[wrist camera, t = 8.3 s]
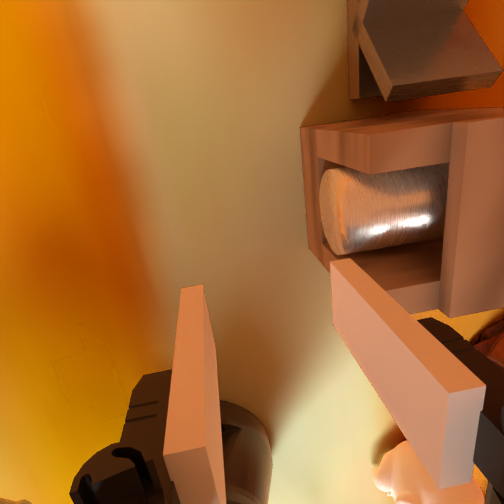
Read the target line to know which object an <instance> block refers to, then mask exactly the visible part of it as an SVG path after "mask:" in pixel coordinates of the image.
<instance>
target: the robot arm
mask: <svg viewBox="0 0 504 504" xmlns="http://www.w3.org/2000/svg"><path fill="white" fill-rule="evenodd" d="M330 273H331V293H332V312H333V326H334V327H335V329H336V330H337V332H338V333H339V335H340V336H341V338H342V340H343V341H344V343H345V344H346V346H347V347H348V349H349V350H350V352H351V354H352V355H353V357H354V358H355V360H356V361H357V363H358V364H359V366H360V368H361V369H362V371H363V372H364V374H365V375H366V377H367V378H368V380H369V382H370V383H371V385H372V386H373V388H374V389H375V391H376V392H377V394H378V396H379V397H380V399H381V400H382V402H383V403H384V405H385V406H386V408H387V410H388V411H389V413H390V414H391V416H392V417H393V419H394V420H395V422H396V424H397V425H398V427H399V428H400V430H401V431H402V433H403V434H404V436H405V438H406V439H407V441H408V442H409V444H410V445H411V447H412V449H413V450H414V452H415V453H416V455H417V456H418V458H419V459H420V461H421V463H422V464H423V466H424V467H425V469H426V470H427V472H428V473H429V475H430V477H431V478H432V480H433V481H434V483H435V484H436V486H437V487H438V489H439V490H440V489H444V488H448V487H452V486H457V485H461V484H465V483H469V482H471V481H472V475H473V468H474V463H475V464H476V466H477V467H478V468H479V469H480V471H481V472H482V473H483V474H484V476H485V477H486V478H487V479H488V485H487V491H486V496H485V502H484V504H504V371H503V370H502V369H501V368H499V367H498V366H497V365H496V364H495V363H493V362H492V361H491V360H490V359H489V358H487V357H486V356H485V355H484V354H483V353H481V352H480V351H479V350H476V349H475V347H474V346H473V345H472V344H471V343H469V342H468V341H467V340H464V339H463V337H462V336H461V335H460V334H459V333H457V332H456V331H455V330H454V329H453V328H451V327H450V326H449V325H447V324H444V323H442V322H440V321H438V320H436V319H434V318H431V317H430V318H425V319H420V320H416V319H415V318H414V317H412V316H411V315H410V314H409V313H408V312H407V311H406V310H405V309H404V308H403V307H402V306H401V305H400V304H399V303H398V302H396V301H395V300H394V299H393V298H392V297H391V296H390V295H389V294H388V293H387V292H386V291H385V290H384V289H383V288H381V287H380V286H379V285H378V284H377V283H376V282H375V281H374V280H373V279H372V278H371V277H370V276H369V275H368V274H367V273H365V272H364V271H363V270H362V269H361V268H360V267H359V266H358V265H357V264H356V263H355V262H354V261H353V260H352V259H350V258H348V259H342V260H336V261H331V262H330ZM272 465H273V464H272V453H271V449H270V444H269V439H268V435H267V433H266V430H265V428H264V427H263V425H262V424H261V422H260V421H259V420H258V419H257V418H256V417H255V416H254V415H252V414H251V413H250V412H248V411H247V410H245V409H243V408H241V407H239V406H236V405H233V404H230V403H226V402H222V401H219V389H218V374H217V360H216V347H215V342H214V337H213V332H212V327H211V322H210V317H209V313H208V308H207V303H206V298H205V293H204V288H203V284H202V285H196V286H191V287H185V288H181V295H180V304H179V313H178V322H177V331H176V341H175V350H174V359H173V368H172V370H167V371H162V372H157V373H152V374H146V375H143V377H142V378H141V379H140V381H139V382H138V384H137V385H136V386H135V388H134V389H133V391H132V395H131V399H130V403H129V410H128V411H127V415H126V419H125V424H124V427H123V431H122V435H121V439H120V442H118V443H114V444H111V445H109V446H107V447H106V448H104V449H102V450H100V451H98V452H97V453H96V454H94V455H93V456H92V457H91V458H90V459H89V460H88V461H87V462H86V463H84V465H83V466H82V467H81V469H80V470H79V472H78V473H77V475H76V476H75V478H74V480H73V483H72V486H71V489H70V493H69V494H70V497H71V499H72V501H73V503H74V504H268V499H269V491H270V483H271V475H272ZM0 504H32V503H30V502H29V501H27V500H19V501H17V502H15V501H11V500H7V499H3V498H0Z"/></svg>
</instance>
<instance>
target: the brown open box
mask: <svg viewBox="0 0 504 504" xmlns="http://www.w3.org/2000/svg"><path fill="white" fill-rule="evenodd" d="M300 136H301V149H302V163H303V176H304V190H305V204H306V217H307V231H308V244H309V249H310V250H311V251H312V252H313V254H314V255H315V256H316V257H317V258H318V260H319V261H320V262H321V263H322V264H323V266H324V267H325V268H326V269H327V270H328V272H329V273H330V262H331V261H336V260H342V259H348V258H350V259H352V260H353V261H354V262H355V263H356V264H357V265H358V266H359V267H360V268H361V269H362V270H363V271H364V272H365V273H367V274H368V275H369V276H370V277H371V278H372V279H373V280H374V281H375V282H376V283H377V284H378V285H379V286H380V287H381V288H383V289H384V290H385V291H386V292H387V293H388V294H389V295H390V296H391V297H392V298H393V299H394V300H395V301H396V302H398V303H399V304H400V305H401V306H402V307H403V308H404V309H405V310H406V311H407V312H408V313H409V314H414V313H419V312H424V311H430V310H435V309H439V310H440V311H441V312H442V313H444V314H445V315H446V316H447V317H449V318H453V317H458V316H463V315H468V314H473V313H478V312H484V311H489V310H494V309H499V308H504V107H491V108H462V109H433V110H418V111H411V112H405V113H398V114H391V115H384V116H377V117H370V118H363V119H356V120H349V121H343V122H336V123H329V124H322V125H315V126H308V127H301V128H300ZM447 162H450V166H449V178H448V190H447V203H446V215H445V228H444V238H440V239H434V240H428V241H422V242H416V243H410V244H404V245H398V246H392V247H386V248H379V249H373V250H367V251H361V252H355V253H349V254H343V255H337V254H336V253H334V251H333V250H332V249H331V247H330V246H329V244H328V241H327V239H326V236H325V233H324V230H323V226H322V221H321V214H320V204H319V193H320V184H321V179H322V176H323V174H324V173H325V171H326V170H329V169H336V168H343V167H349V168H352V169H355V170H358V171H361V172H364V173H367V174H370V175H371V174H378V173H384V172H390V171H397V170H403V169H409V168H415V167H422V166H428V165H434V164H441V163H447ZM330 274H331V273H330Z"/></svg>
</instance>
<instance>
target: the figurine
mask: <svg viewBox="0 0 504 504" xmlns="http://www.w3.org/2000/svg"><path fill="white" fill-rule="evenodd" d="M372 478H373V481H374V483H375V485H376V486H377V487H378V488H379V489H380V490H382V491H384V492H386V495H387V496H388V495H389V496H393V498H394V501H395V502H394V504H484V502H485V501H484V496H483V493H482V491H481V488H480V486H479V484H478V483H477V481H476V480H475V478H474V477H473V475H472V481H471V482H469V483H465V484H461V485H457V486H452V487H448V488H444V489H440V490H439V489H438V487H437V486H436V484H435V483H434V481H433V480H432V478H431V477H430V475H429V473H428V472H427V470H426V469H425V467H424V466H423V464H422V463H421V461H420V459H419V458H418V456H417V455H416V453H415V452H414V450H413V449H412V447H411V445H410V444H409V442H408V441H407V440H406V441H403V442H401V443H399V444H398V445H397V446H396V447H395V448H394V449H392V450H390V451H388V452H386V453H385V454H384V456H383V458H382V460H381V462H380V465H379V467H374V468H373V469H372Z"/></svg>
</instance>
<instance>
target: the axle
mask: <svg viewBox="0 0 504 504" xmlns="http://www.w3.org/2000/svg"><path fill="white" fill-rule="evenodd" d="M449 166H450V162H447V163H441V164H434V165H428V166H422V167H415V168H409V169H403V170H397V171H390V172H384V173H378V174H371V175H370V174H367V173H364V172H361V171H358V170H355V169H352V168H349V167H343V168H336V169H329V170H326V171H325V173H324V174H323V176H322V179H321V184H320V193H319V204H320V214H321V221H322V226H323V230H324V233H325V236H326V239H327V241H328V244H329V246H330V247H331V249H332V250H333V251H334V253H336V254H337V255H343V254H349V253H355V252H361V251H367V250H373V249H379V248H386V247H392V246H398V245H404V244H410V243H416V242H422V241H428V240H434V239H440V238H444V228H445V215H446V203H447V190H448V178H449Z"/></svg>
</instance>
